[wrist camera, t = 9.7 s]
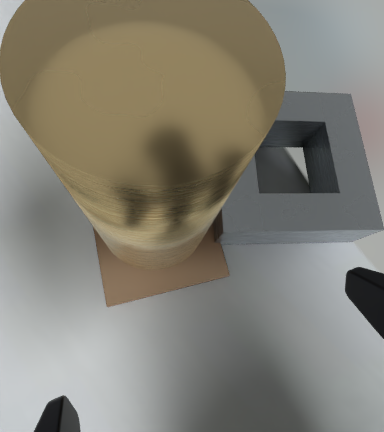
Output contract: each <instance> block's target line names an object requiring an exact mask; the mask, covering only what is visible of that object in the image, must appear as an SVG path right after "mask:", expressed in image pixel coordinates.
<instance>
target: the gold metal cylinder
mask: <svg viewBox="0 0 384 432" xmlns="http://www.w3.org/2000/svg"><path fill="white" fill-rule="evenodd" d="M285 76H286V73H285V65H284V59H283V55H282V52H281V48H280V45H279V43H278V41H277V39H276V36H275V34H274V33H273V31H272V29H271V27H270V26H269V24H268V22H267V21H266V20H265V18H264V17H263V16H262V15H261V13H260V12H259V11H258V10H257V9H256V8H255V7H254V6H253V5H252V4H251V3H250V2H249V1H248V0H25V1H24V2H23V3H22V4H21V6H20V7H19V8H18V9H17V11H16V12H15V14H14V15H13V17H12V19H11V20H10V22H9V24H8V26H7V29H6V31H5V33H4V36H3V40H2V44H1V48H0V79H1V84H2V88H3V91H4V94H5V98H6V100H7V102H8V104H9V106H10V108H11V110H12V112H13V114H14V116H15V117H16V118H17V120H18V121H19V123H20V124H21V125H22V127H23V128H24V130H25V131H26V132H27V134H28V135H29V137H30V138H31V139H32V141H33V142H34V144H35V145H36V146H37V148H38V149H39V151H40V152H41V154H42V155H43V156H44V158H45V159H46V161H47V162H48V163H49V165H50V166H51V168H52V169H53V170H54V172H55V173H56V175H57V176H58V177H59V179H60V180H61V182H62V183H63V184H64V186H65V187H66V189H67V190H68V191H69V193H70V194H71V196H72V197H73V199H74V200H75V201H76V203H77V204H78V206H79V207H80V208H81V210H82V211H83V213H84V214H85V215H86V217H87V218H88V220H89V221H90V222H91V224H92V225H93V227H94V228H95V229H96V231H97V232H98V234H99V235H100V236H101V238H102V239H103V241H104V242H105V244H106V245H107V246H108V248H109V249H110V251H111V252H112V253H113V254H114V255H115V256H116V257H117V258H118V259H120V260H121V261H122V262H124V263H126V264H127V265H130V266H132V267H134V268H138V269H142V270H163V269H167V268H171V267H173V266H176V265H178V264H179V263H181V262H183V261H184V260H186V259H187V258H188V257H189V256H190V255H191V254H192V253H193V252H194V251H195V250H196V248H197V247H198V245H199V244H200V242H201V240H202V239H203V237H204V236H205V234H206V232H207V231H208V229H209V227H210V226H211V224H212V223H213V221H214V219H215V218H216V216H217V214H218V213H219V211H220V210H221V208H222V206H223V205H224V203H225V202H226V200H227V198H228V197H229V195H230V193H231V192H232V190H233V189H234V187H235V185H236V184H237V182H238V180H239V179H240V177H241V176H242V174H243V172H244V171H245V169H246V167H247V166H248V164H249V163H250V161H251V159H252V158H253V156H254V154H255V153H256V151H257V150H258V148H259V146H260V145H261V143H262V142H263V140H264V138H265V137H266V135H267V133H268V132H269V130H270V128H271V127H272V125H273V123H274V121H275V120H276V118H277V116H278V113H279V111H280V108H281V105H282V102H283V97H284V92H285V80H286V77H285Z"/></svg>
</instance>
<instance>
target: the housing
mask: <svg viewBox="0 0 384 432" xmlns="http://www.w3.org/2000/svg"><path fill="white" fill-rule="evenodd" d="M259 147H303V152H304V157H305V163H306V168H307V174H308V180H309V186H310V191H311V193H259V187H258V179H257V170H256V162H255V154H254V156H253V158H252V159H251V161H250V163H249V164H248V166H247V167H246V169H245V171H244V172H243V174H242V176H241V177H240V179H239V180H238V182H237V184H236V185H235V187H234V189H233V190H232V192H231V193H230V195H229V197H228V198H227V200H226V202H225V203H224V205H223V206H222V208H221V210H220V211H219V213H218V214H217V216H216V218H215V219H214V221H213V225H214V239H215V243H221V245H226V244H277V243H327V242H353V241H355V240H358V239H361V238H363V237H366V236H369V235H371V234H374V233H376V232H379V231H382V230H384V227H383V223H382V219H381V215H380V211H379V206H378V202H377V198H376V194H375V190H374V186H373V182H372V178H371V174H370V170H369V166H368V162H367V158H366V154H365V149H364V145H363V141H362V137H361V133H360V130H359V125H358V121H357V117H356V113H355V109H354V105H353V101H352V97H351V94H341V93H340V94H339V93H316V92H293V91H285V92H284V97H283V102H282V105H281V108H280V111H279V113H278V116H277V118H276V120H275V121H274V123H273V125H272V127H271V128H270V130H269V132H268V133H267V135H266V137H265V138H264V140H263V142H262V143H261V145H260V146H259Z"/></svg>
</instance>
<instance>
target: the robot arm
mask: <svg viewBox="0 0 384 432" xmlns="http://www.w3.org/2000/svg"><path fill="white" fill-rule="evenodd" d="M345 292H346V294H347V296H348V298H349V299H350V300H351V301H352V302H353V304H354V305H355V306H356V307H357V308H358V310H359V311H360V312H361V313H362V314H363V316H364V317H365V318H366V319H367V320H368V322H369V323H370V324H371V325H372V326H373V328H374V329H375V330H376V331H377V332H378V333H379V334H380V336H381V337H382V338H383V339H384V274H383V273H379V272H376V271H372V270H369V269H365V268H362V267H356V268H354V269H352V270H349V271H348V272H347V273H346V283H345ZM34 432H80V423H79V417H78V414H77V412H76V410H75V408H74V407H73V405H72V404H71V403H70V401H69V400H68V398H67V397H66V396H64V395H63V396H60V397H58V398H55V399H53V400H51V401H49V402H48V404H47V405H46V407H45V409H44V411H43V413H42V416H41V418H40V420H39V422H38V424H37V426H36V428H35V430H34Z"/></svg>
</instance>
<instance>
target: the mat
mask: <svg viewBox="0 0 384 432" xmlns="http://www.w3.org/2000/svg"><path fill="white" fill-rule="evenodd" d="M93 228H94V227H93ZM94 234H95V240H96V246H97V252H98V258H99V264H100V270H101V275H102V281H103V287H104V293H105V299H106V305H107V307H110V306H114V305H118V304H122V303H126V302H130V301H134V300H138V299H141V298H145V297H149V296H153V295H157V294H161V293H165V292H169V291H173V290H177V289H180V288H184V287H188V286H192V285H196V284H200V283H204V282H208V281H212V280H215V279H219V278H223V277H227V276H229V275H230V274H229V271H228V267H227V264H226V260H225V257H224V253H223V250H222V246H221V243H215V239H214V225H213V223H212V224H211V226H210V227H209V229H208V231H207V232H206V234H205V236H204V237H203V239H202V240H201V242H200V244H199V245H198V247H197V248H196V250H195V251H194V252H193V253H192V254H191V255H190V256H189V257H188V258H187V259H186V260H184V261H183V262H181V263H179V264H178V265H176V266H173V267H171V268H167V269H163V270H142V269H138V268H134V267H132V266H130V265H127V264H126V263H124V262H122V261H121V260H120V259H118V258H117V257H116V256H115V255H114V254H113V253H112V252H111V251H110V249H109V248H108V246H107V245H106V244H105V242H104V241H103V239H102V238H101V236H100V235H99V234H98V232H97V231H96V229H95V228H94Z"/></svg>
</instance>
